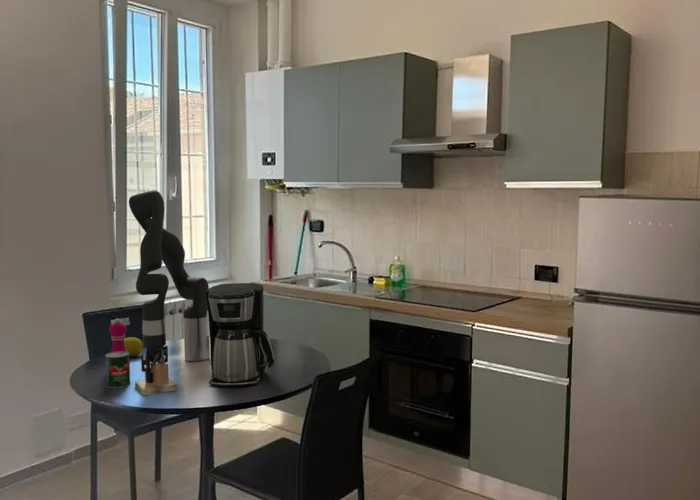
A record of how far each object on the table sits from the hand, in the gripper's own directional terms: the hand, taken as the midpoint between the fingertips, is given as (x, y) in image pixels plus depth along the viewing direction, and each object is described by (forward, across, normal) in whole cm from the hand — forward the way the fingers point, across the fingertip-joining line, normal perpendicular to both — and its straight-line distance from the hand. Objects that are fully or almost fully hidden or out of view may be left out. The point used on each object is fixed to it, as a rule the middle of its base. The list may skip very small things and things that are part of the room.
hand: (155, 379), depth 215 cm
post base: (+3, 0, 0) cm, 3 cm away
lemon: (+3, +38, +32) cm, 49 cm away
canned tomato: (+3, +2, +15) cm, 16 cm away
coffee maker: (+3, +20, -25) cm, 32 cm away
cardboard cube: (+1, 0, 0) cm, 1 cm away
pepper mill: (+3, +18, +25) cm, 31 cm away
